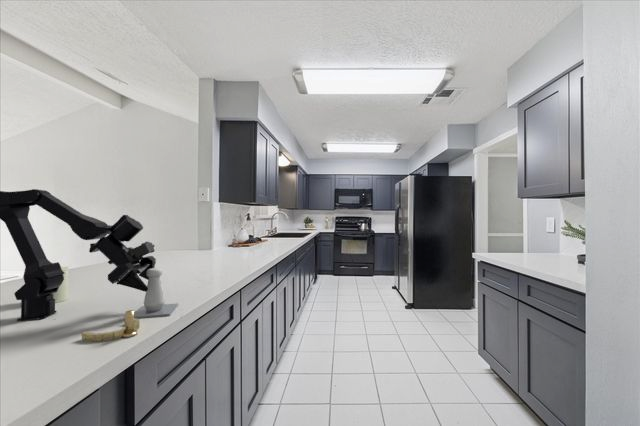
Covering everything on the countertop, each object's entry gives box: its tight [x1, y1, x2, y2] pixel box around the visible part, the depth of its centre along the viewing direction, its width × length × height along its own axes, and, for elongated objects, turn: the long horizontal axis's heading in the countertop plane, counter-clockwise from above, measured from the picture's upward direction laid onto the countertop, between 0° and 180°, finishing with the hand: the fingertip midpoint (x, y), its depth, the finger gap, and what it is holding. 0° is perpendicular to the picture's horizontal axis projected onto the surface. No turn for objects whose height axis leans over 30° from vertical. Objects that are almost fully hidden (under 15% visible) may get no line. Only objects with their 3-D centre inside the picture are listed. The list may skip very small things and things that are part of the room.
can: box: [51, 266, 69, 304], centre depth 103 cm, size 9×9×12 cm
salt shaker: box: [143, 267, 166, 312], centre depth 90 cm, size 6×6×13 cm
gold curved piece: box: [81, 309, 140, 343], centre depth 73 cm, size 10×12×6 cm
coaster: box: [134, 302, 179, 319], centre depth 90 cm, size 11×11×1 cm
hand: (153, 286), depth 91 cm, fingers open, 9 cm apart
